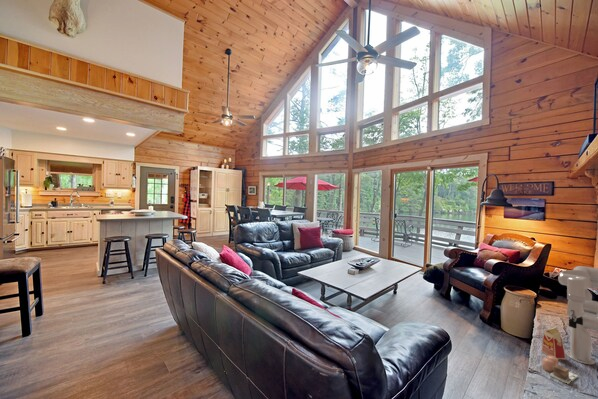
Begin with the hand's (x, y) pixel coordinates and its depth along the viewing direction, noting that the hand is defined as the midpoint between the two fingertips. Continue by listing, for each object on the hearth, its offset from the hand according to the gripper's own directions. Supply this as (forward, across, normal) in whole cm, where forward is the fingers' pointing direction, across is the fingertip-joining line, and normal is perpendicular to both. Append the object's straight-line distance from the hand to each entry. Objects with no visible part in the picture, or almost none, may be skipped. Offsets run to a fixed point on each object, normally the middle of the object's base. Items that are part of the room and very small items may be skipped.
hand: (575, 325), depth 155 cm
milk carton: (+31, -14, -15) cm, 37 cm away
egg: (+30, +10, -10) cm, 33 cm away
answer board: (+30, +9, -2) cm, 32 cm away
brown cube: (+29, +12, -2) cm, 32 cm away
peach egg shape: (+30, +3, -10) cm, 32 cm away
